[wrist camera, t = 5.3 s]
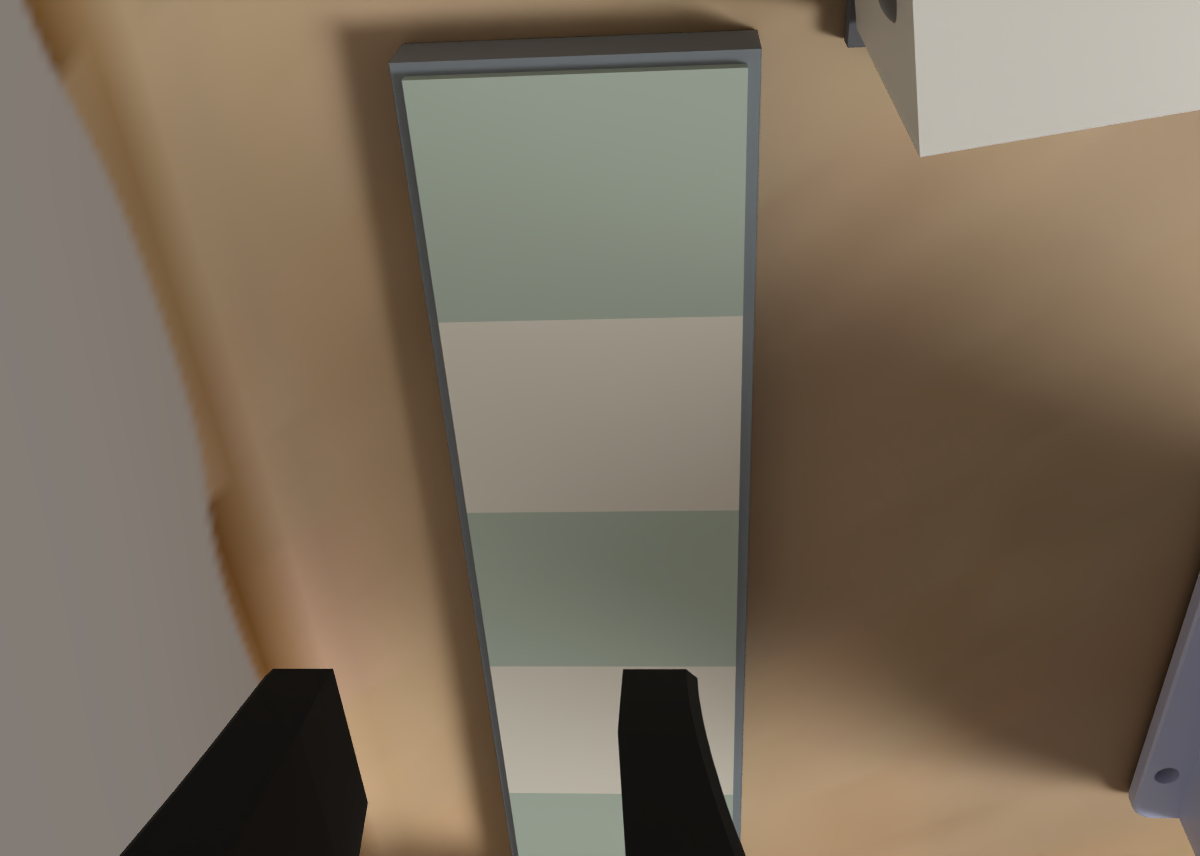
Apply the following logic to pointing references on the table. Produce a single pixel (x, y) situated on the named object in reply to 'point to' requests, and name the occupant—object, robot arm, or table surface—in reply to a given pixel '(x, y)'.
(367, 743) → the table surface
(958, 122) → the die
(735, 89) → the board
